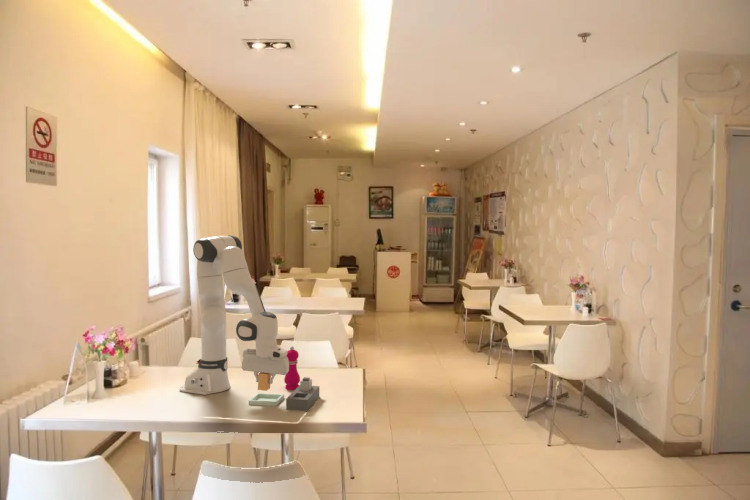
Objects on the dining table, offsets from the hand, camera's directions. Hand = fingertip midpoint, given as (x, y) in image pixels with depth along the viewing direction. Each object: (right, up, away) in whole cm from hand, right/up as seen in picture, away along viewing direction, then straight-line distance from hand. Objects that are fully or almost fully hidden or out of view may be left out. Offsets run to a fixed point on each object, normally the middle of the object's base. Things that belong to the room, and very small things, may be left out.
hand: (264, 382), depth 213 cm
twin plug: (+18, -6, +2) cm, 19 cm away
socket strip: (+17, -9, -1) cm, 19 cm away
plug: (0, -3, 0) cm, 3 cm away
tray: (+1, -9, 0) cm, 9 cm away
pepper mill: (+9, -8, +18) cm, 22 cm away
